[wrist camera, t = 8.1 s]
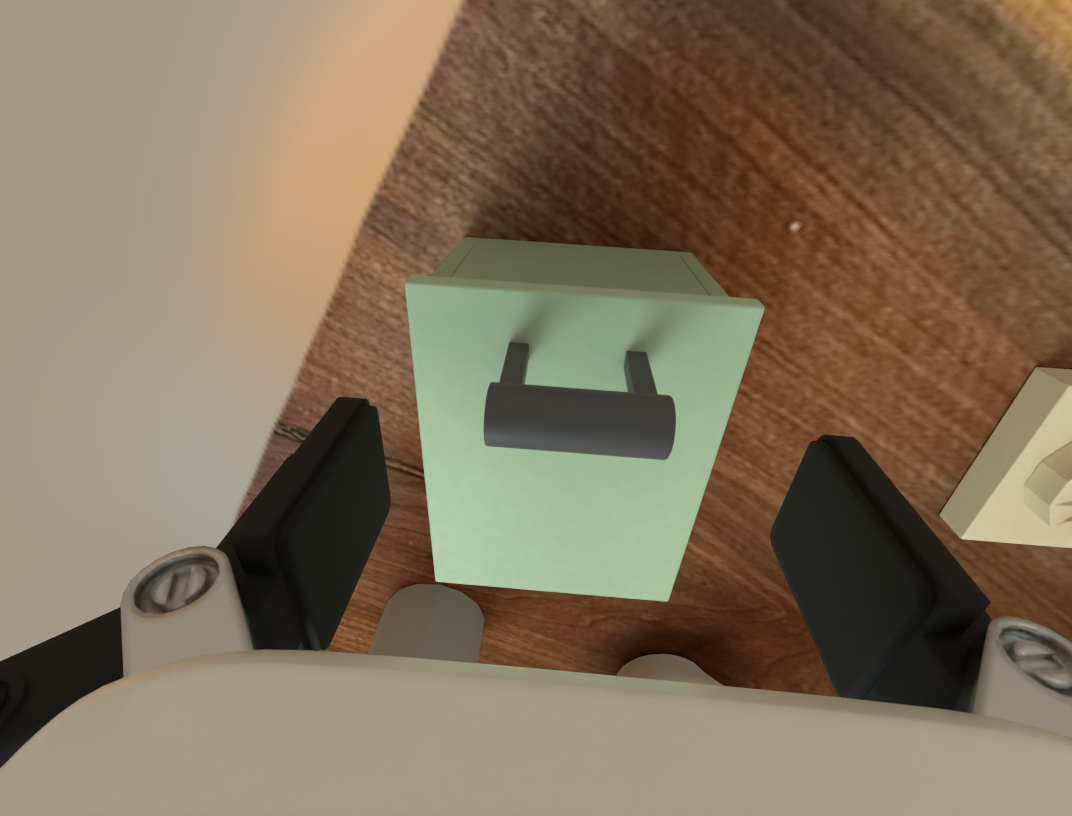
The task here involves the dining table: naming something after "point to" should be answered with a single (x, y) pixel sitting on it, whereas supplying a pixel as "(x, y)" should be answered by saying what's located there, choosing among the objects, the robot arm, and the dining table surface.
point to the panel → (1022, 471)
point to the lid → (570, 428)
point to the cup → (430, 625)
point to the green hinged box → (579, 266)
